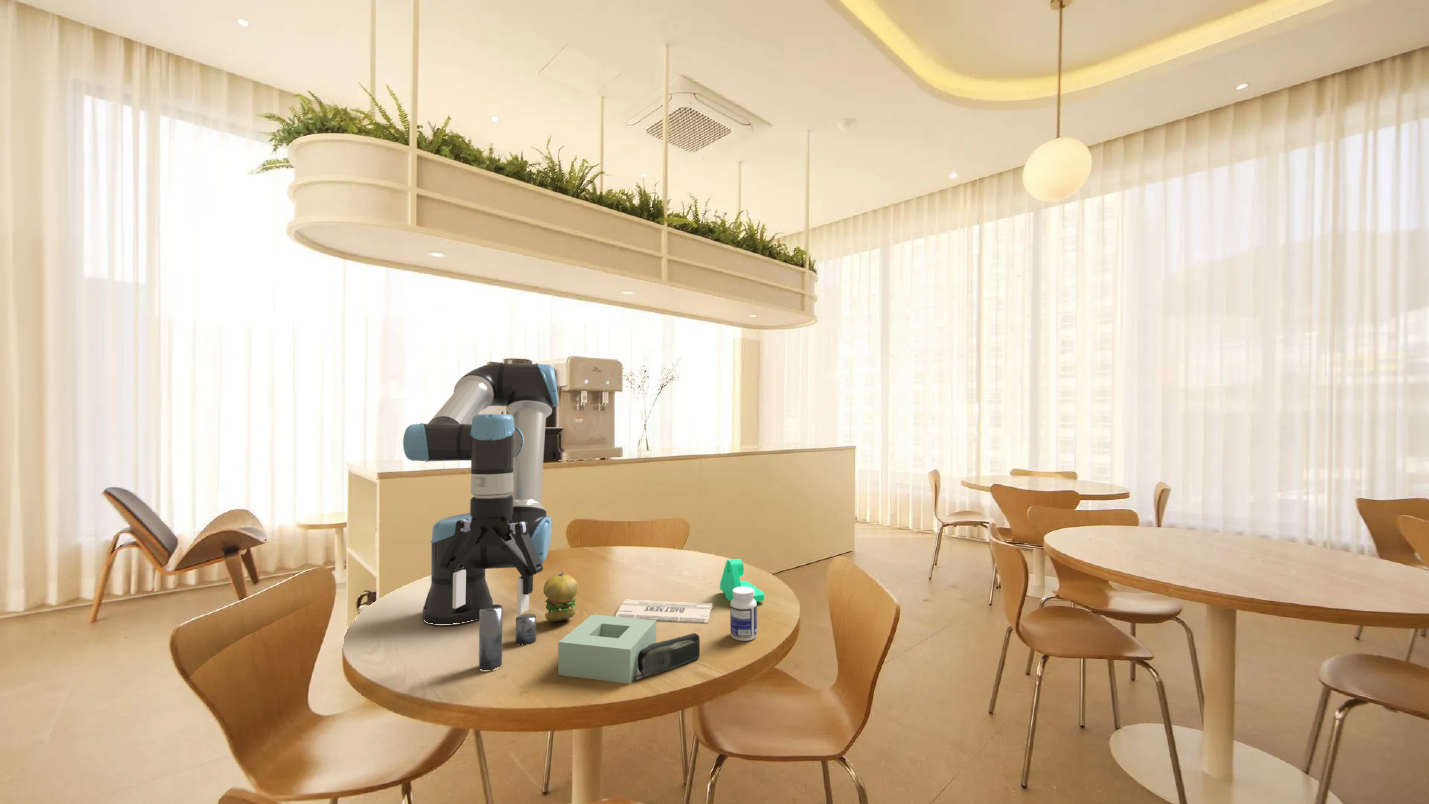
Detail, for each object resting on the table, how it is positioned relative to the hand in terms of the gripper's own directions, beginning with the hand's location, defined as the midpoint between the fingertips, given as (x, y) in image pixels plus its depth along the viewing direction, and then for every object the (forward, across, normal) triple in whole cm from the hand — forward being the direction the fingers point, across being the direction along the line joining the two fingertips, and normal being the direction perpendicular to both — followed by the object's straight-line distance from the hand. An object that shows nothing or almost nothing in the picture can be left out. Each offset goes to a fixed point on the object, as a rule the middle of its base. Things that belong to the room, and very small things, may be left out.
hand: (490, 609), depth 104 cm
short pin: (+11, 0, +12) cm, 17 cm away
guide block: (+11, +21, +8) cm, 25 cm away
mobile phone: (+11, +32, +8) cm, 35 cm away
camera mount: (+11, +39, +49) cm, 64 cm away
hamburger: (+11, +2, +24) cm, 26 cm away
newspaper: (+12, +23, +36) cm, 44 cm away
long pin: (+11, 0, 0) cm, 11 cm away
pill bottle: (+11, +44, +26) cm, 52 cm away
